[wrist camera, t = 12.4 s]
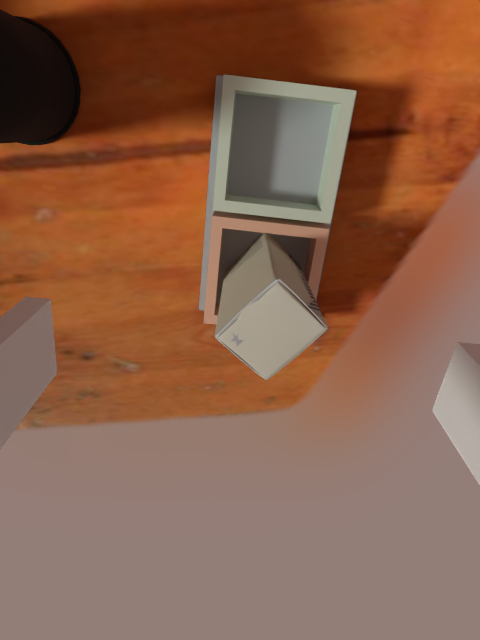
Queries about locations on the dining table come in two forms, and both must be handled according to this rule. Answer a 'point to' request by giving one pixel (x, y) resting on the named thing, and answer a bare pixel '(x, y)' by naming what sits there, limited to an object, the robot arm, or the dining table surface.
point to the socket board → (272, 174)
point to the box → (267, 308)
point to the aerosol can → (34, 83)
